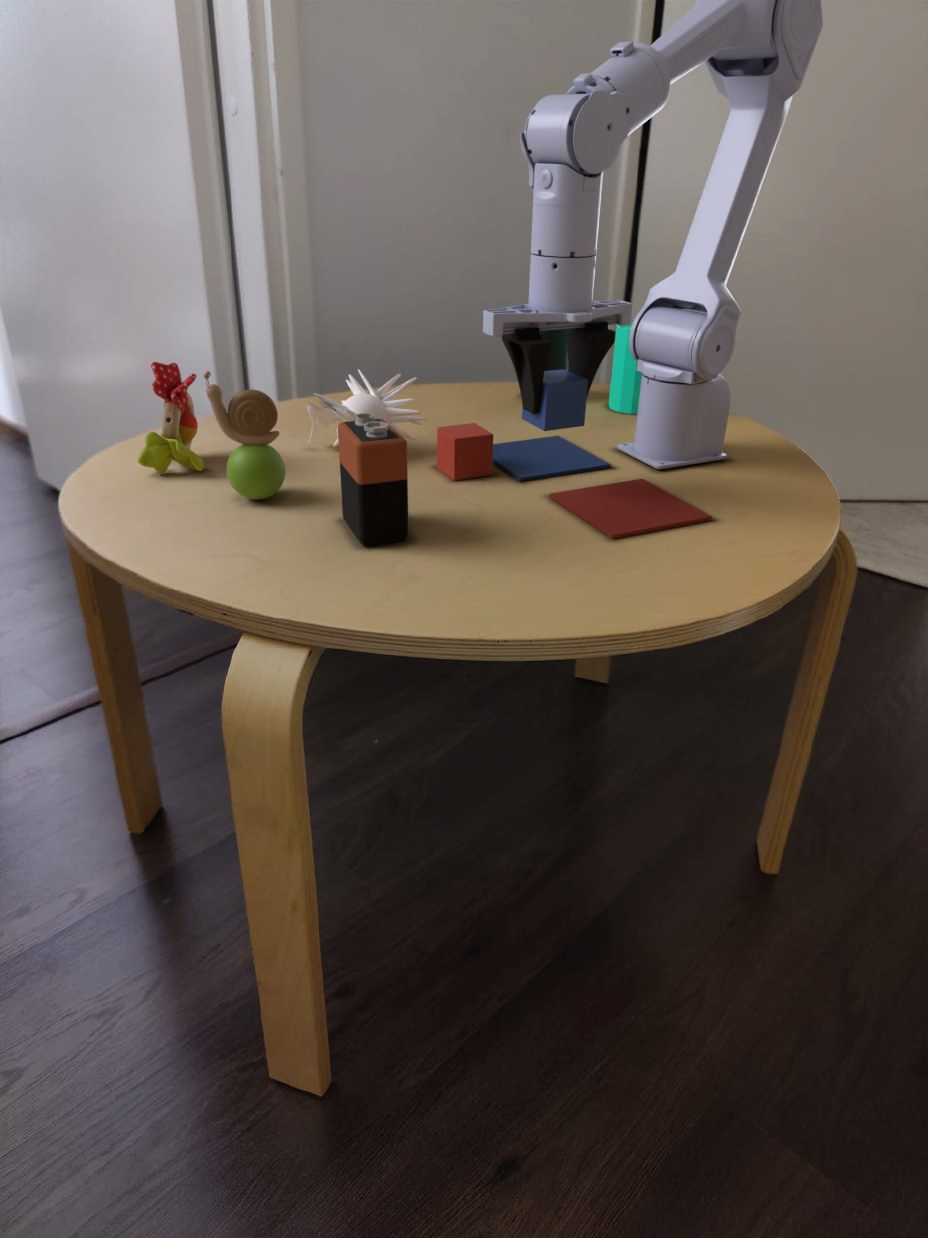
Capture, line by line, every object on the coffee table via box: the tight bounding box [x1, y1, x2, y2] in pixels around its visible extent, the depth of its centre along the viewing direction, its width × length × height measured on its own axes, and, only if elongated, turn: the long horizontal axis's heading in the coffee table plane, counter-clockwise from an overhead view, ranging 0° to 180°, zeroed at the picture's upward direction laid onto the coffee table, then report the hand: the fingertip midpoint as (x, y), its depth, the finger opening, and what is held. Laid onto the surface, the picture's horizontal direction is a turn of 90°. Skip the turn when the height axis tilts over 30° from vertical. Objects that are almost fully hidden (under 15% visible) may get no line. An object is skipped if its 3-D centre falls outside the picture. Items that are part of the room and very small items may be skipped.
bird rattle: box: [137, 361, 205, 475], centre depth 89 cm, size 6×11×9 cm
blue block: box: [521, 369, 588, 432], centre depth 82 cm, size 4×4×4 cm
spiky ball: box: [306, 368, 427, 448], centre depth 94 cm, size 11×12×8 cm
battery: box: [337, 413, 409, 547], centre depth 74 cm, size 4×7×10 cm, turn 21°
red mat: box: [549, 478, 713, 540], centre depth 82 cm, size 11×11×1 cm
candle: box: [608, 320, 642, 415], centre depth 111 cm, size 6×6×12 cm
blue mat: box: [492, 435, 611, 482], centre depth 95 cm, size 11×11×1 cm
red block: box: [436, 422, 494, 481], centre depth 90 cm, size 4×4×4 cm
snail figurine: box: [203, 370, 286, 501], centre depth 80 cm, size 5×6×12 cm
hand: (553, 408), depth 82 cm, fingers closed on blue block, 4 cm apart
